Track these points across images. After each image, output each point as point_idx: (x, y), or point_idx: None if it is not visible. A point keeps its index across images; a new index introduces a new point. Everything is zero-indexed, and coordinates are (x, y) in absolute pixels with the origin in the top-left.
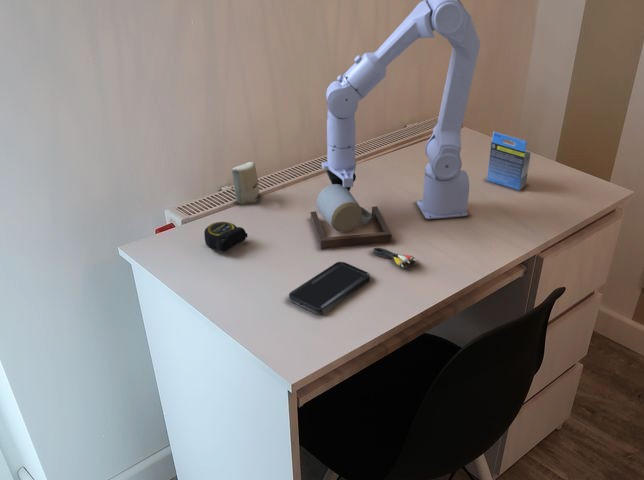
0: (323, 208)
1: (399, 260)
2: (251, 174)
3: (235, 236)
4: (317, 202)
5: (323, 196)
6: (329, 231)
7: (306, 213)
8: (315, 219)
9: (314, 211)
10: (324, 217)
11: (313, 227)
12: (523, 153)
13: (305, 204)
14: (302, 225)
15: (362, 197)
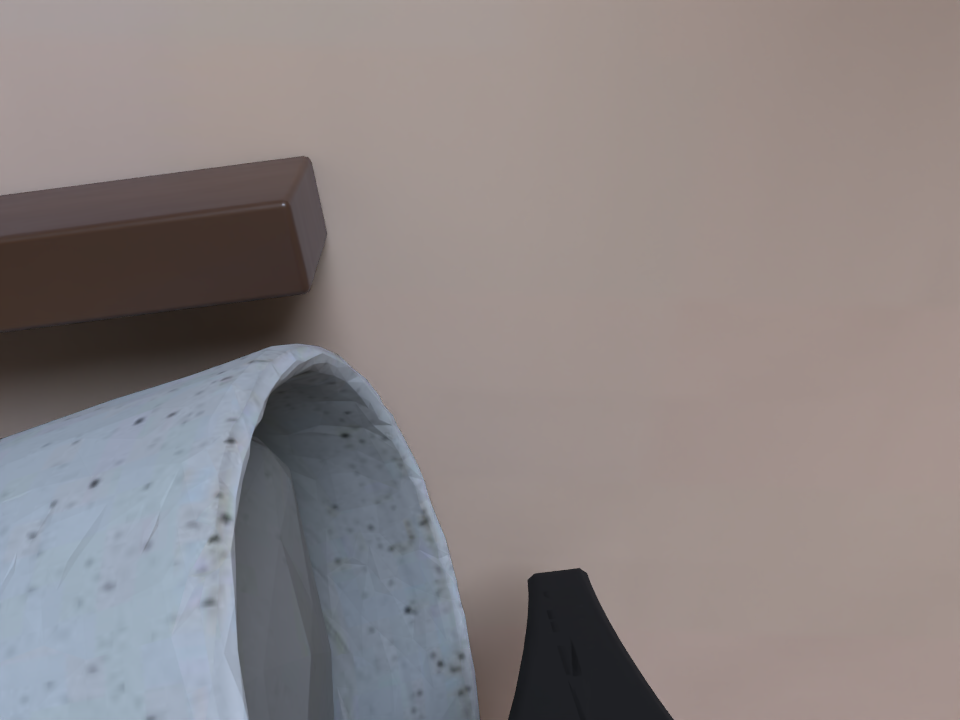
0: None
1: None
2: None
3: None
4: (184, 435)
5: (32, 682)
6: (8, 391)
7: (536, 93)
8: (4, 277)
9: (294, 271)
10: (28, 429)
11: (43, 192)
12: None
13: (841, 88)
14: (124, 10)
15: (837, 716)
